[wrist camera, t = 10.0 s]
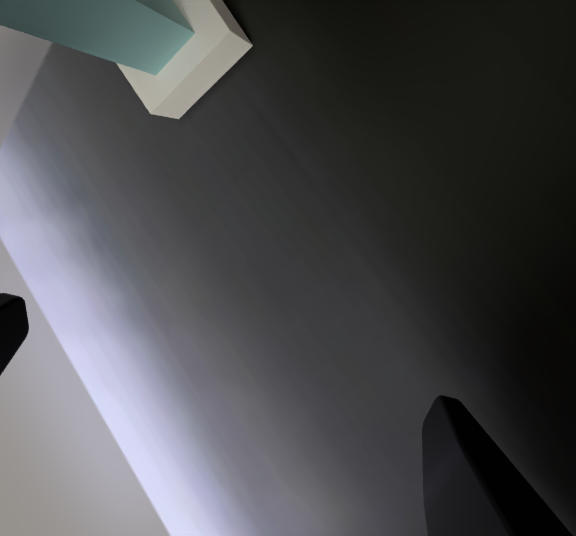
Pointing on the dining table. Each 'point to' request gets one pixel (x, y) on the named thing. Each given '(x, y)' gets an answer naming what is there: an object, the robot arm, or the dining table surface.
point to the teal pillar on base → (142, 41)
